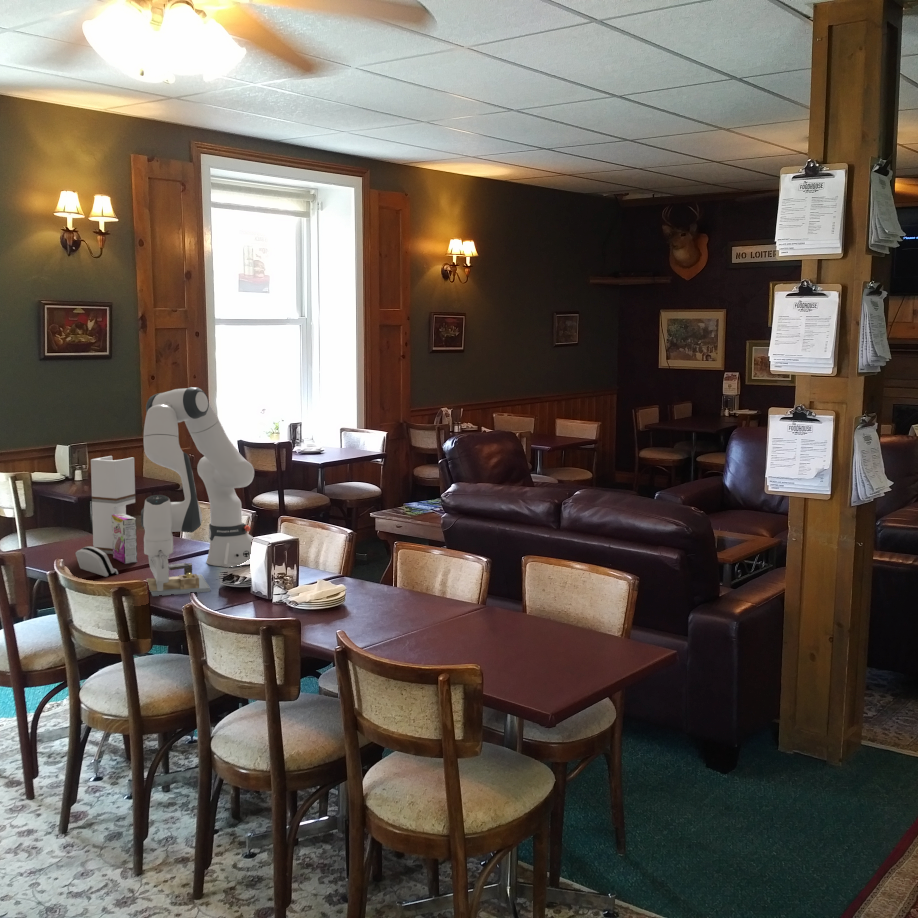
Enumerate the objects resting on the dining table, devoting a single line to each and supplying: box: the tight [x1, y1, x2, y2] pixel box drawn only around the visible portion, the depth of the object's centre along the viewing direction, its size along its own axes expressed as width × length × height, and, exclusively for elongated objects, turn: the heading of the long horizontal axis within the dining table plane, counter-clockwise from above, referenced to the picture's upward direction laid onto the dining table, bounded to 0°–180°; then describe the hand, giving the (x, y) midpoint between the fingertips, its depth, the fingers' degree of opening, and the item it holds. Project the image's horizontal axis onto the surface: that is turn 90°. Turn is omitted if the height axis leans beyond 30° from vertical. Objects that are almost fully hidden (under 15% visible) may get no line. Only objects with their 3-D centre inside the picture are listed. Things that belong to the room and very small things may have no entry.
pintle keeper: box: [168, 562, 193, 578], centre depth 326 cm, size 8×13×6 cm, turn 23°
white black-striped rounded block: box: [74, 545, 119, 577], centre depth 342 cm, size 17×5×10 cm, turn 50°
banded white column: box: [90, 455, 136, 555], centre depth 373 cm, size 11×11×35 cm
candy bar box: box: [112, 513, 138, 565], centre depth 358 cm, size 11×5×16 cm, turn 41°
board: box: [145, 574, 211, 597], centre depth 326 cm, size 18×18×1 cm
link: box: [146, 573, 199, 592], centre depth 320 cm, size 16×6×3 cm, turn 113°
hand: (159, 590), depth 314 cm, fingers closed
